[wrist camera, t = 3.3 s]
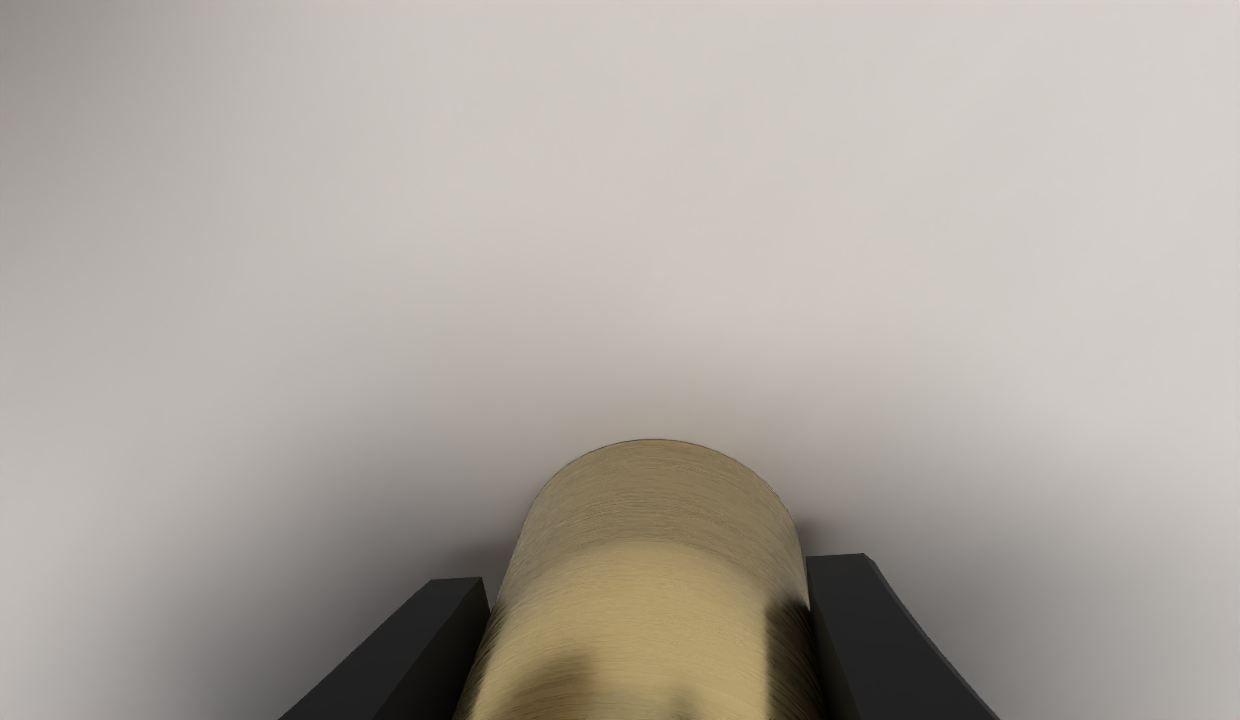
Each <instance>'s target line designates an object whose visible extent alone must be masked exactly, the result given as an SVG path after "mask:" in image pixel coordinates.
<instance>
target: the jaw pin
mask: <svg viewBox="0 0 1240 720" xmlns="http://www.w3.org/2000/svg"><path fill="white" fill-rule="evenodd" d="M452 720H828V715H827V709H826V703H825V697H824V691H823V686H822V682H821V677H820V671H819V664H818V658H817V652H816V646H815V639H814V633H813V627H812V620H811V614H810V604H809V597H808V591H807V585H806V579H805V572H804V566H803V560H802V554H801V547H800V541H799V538H798V535H797V531H796V528H795V525H794V523H793V521H792V519H791V517H790V515H789V513H788V511H787V509H786V508H785V506H784V505H783V503H782V502H781V501H780V499H779V498H778V496H777V495H776V494H775V493H774V492H773V491H772V489H771V488H770V487H769V486H768V485H767V484H766V483H765V482H764V481H763V480H762V479H760V478H759V477H758V476H757V475H756V474H754V473H753V472H752V471H751V470H749V469H748V468H746V467H745V466H743V465H742V464H740V463H738V462H737V461H735V460H734V459H731V458H729V457H727V456H725V455H723V454H721V453H719V452H717V451H714V450H711V449H708V448H705V447H702V446H699V445H695V444H690V443H685V442H681V441H672V440H661V439H654V440H635V441H628V442H621V443H617V444H614V445H610V446H606V447H603V448H600V449H598V450H595V451H593V452H591V453H588V454H586V455H584V456H582V457H580V458H579V459H577V460H575V461H573V462H572V463H570V464H569V465H567V466H566V467H565V468H564V469H562V470H561V471H560V472H558V473H557V474H556V475H555V476H554V477H553V478H552V479H551V480H550V481H549V482H548V483H547V484H546V485H545V486H544V488H543V489H542V490H541V492H540V493H539V495H538V496H537V497H536V499H535V501H534V503H533V505H532V506H531V508H530V510H529V512H528V515H527V517H526V520H525V523H524V526H523V528H522V531H521V534H520V536H519V539H518V542H517V544H516V547H515V550H514V553H513V555H512V558H511V561H510V563H509V566H508V569H507V572H506V574H505V577H504V580H503V582H502V585H501V588H500V590H499V593H498V596H497V599H496V601H495V604H494V607H493V609H492V612H491V615H490V618H489V620H488V623H487V626H486V628H485V631H484V634H483V636H482V639H481V642H480V645H479V647H478V650H477V653H476V655H475V658H474V661H473V664H472V666H471V669H470V672H469V674H468V677H467V680H466V682H465V685H464V688H463V691H462V693H461V696H460V699H459V701H458V704H457V707H456V709H455V712H454V715H453V718H452Z"/></svg>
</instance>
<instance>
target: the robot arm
mask: <svg viewBox="0 0 1240 720" xmlns="http://www.w3.org/2000/svg"><path fill="white" fill-rule="evenodd" d="M806 566H807V578H808V591H809V604H810V614H811V620H812V627H813V633H814V639H815V646H816V652H817V658H818V664H819V671H820V677H821V682H822V686H823V691H824V697H825V703H826V709H827V715H828V720H1000V719H999V718H998V717H997V715H996V714H995V713H994V712H993V711H992V710H991V709H990V708H989V707H988V706H987V705H986V704H985V702H984V701H983V700H982V699H981V698H980V697H979V696H978V695H977V693H976V692H975V691H974V690H973V689H972V688H971V687H970V685H969V684H968V683H967V682H966V681H965V680H964V678H963V677H962V676H961V675H960V674H959V673H958V672H957V670H956V669H955V668H954V667H953V666H952V665H951V663H950V662H949V661H948V660H947V659H946V658H945V657H944V655H943V654H942V653H941V652H940V651H939V649H938V648H937V647H936V646H935V644H934V643H933V642H932V641H931V640H930V638H929V637H928V636H927V635H926V633H925V632H924V631H923V630H922V628H921V627H920V626H919V624H918V623H917V622H916V620H915V619H914V618H913V617H912V615H911V614H910V613H909V611H908V610H907V609H906V607H905V606H904V605H903V603H902V602H901V601H900V599H899V598H898V597H897V595H896V594H895V592H894V591H893V590H892V588H891V587H890V585H889V584H888V582H887V581H886V579H885V578H884V576H883V575H882V573H881V572H880V570H879V569H878V567H877V565H876V564H875V562H874V561H873V560H871V559H870V558H869V557H868V556H866V555H865V554H864V553H860V554H844V555H827V556H811V557H806ZM490 615H491V613H490V609H489V605H488V601H487V597H486V593H485V589H484V584H483V580H482V577H469V578H453V579H436V580H430V581H429V582H428V583H427V584H426V585H424V586H423V587H422V588H421V589H420V590H419V591H417V592H416V593H415V594H414V595H413V596H412V597H411V598H410V599H409V600H407V601H406V602H405V603H404V604H403V605H402V606H401V607H400V608H399V609H398V610H397V611H396V612H395V613H393V614H392V615H391V616H390V617H389V618H388V619H387V620H386V621H385V622H384V623H383V624H382V625H381V626H380V627H379V628H378V629H376V630H375V631H374V632H373V633H372V634H371V635H370V636H369V637H368V638H367V639H366V640H365V641H364V642H363V643H362V644H361V645H360V646H359V647H357V648H356V649H355V650H354V651H353V652H352V653H351V654H350V655H349V656H348V657H347V658H346V659H345V660H343V661H342V662H341V663H340V664H339V665H338V666H337V667H336V668H335V669H334V670H333V671H332V672H331V673H329V674H328V675H327V676H326V677H325V678H324V679H323V680H322V681H321V682H320V683H319V684H318V685H316V686H315V687H314V688H313V689H312V690H311V691H310V692H309V693H308V694H307V695H306V696H305V697H304V698H302V699H301V700H300V701H299V702H298V703H297V704H296V705H295V706H293V707H292V708H291V709H290V710H289V711H288V712H286V713H285V714H284V715H283V716H282V717H281V718H279V719H278V720H452V718H453V715H454V712H455V709H456V707H457V704H458V701H459V699H460V696H461V693H462V691H463V688H464V685H465V682H466V680H467V677H468V674H469V672H470V669H471V666H472V664H473V661H474V658H475V655H476V653H477V650H478V647H479V645H480V642H481V639H482V636H483V634H484V631H485V628H486V626H487V623H488V620H489V618H490Z"/></svg>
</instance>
